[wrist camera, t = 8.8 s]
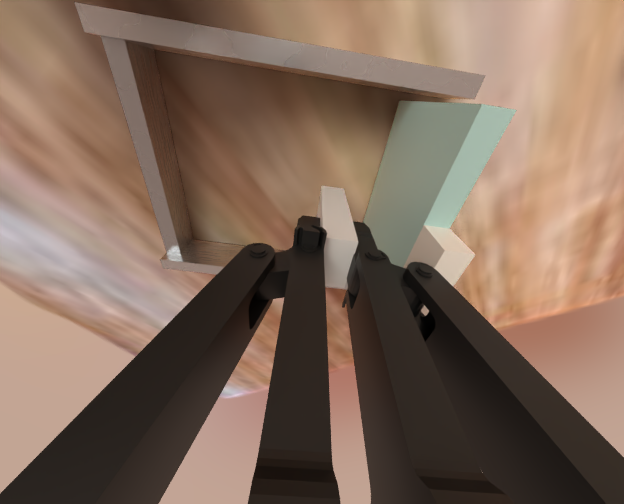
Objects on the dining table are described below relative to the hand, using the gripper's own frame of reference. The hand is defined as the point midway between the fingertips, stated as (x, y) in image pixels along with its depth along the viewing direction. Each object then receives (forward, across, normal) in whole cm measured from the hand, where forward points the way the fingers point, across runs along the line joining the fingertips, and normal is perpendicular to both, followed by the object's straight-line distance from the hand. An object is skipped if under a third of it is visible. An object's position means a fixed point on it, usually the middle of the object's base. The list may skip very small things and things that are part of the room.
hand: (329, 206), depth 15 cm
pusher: (+4, +4, 0) cm, 6 cm away
